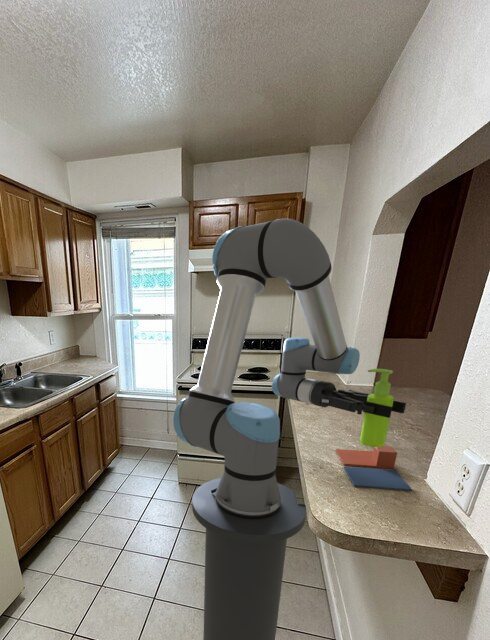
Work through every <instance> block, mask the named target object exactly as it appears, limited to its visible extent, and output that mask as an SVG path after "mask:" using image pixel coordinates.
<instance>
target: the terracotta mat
mask: <svg viewBox="0 0 490 640" xmlns="http://www.w3.org/2000/svg"><path fill="white" fill-rule="evenodd" d="M335 452H336V454H337V455H338V457H339V459H340V461H341V462H342V464H343V466H348V467H363V468H377V469H392V470H395V466H394V467H382V466H376V465H375V464H374V462H373V461H372V460H371V459H372V454H373V450H355V449H341V448H340V449H339V448H338V449H337V448H336V449H335Z"/></svg>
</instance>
